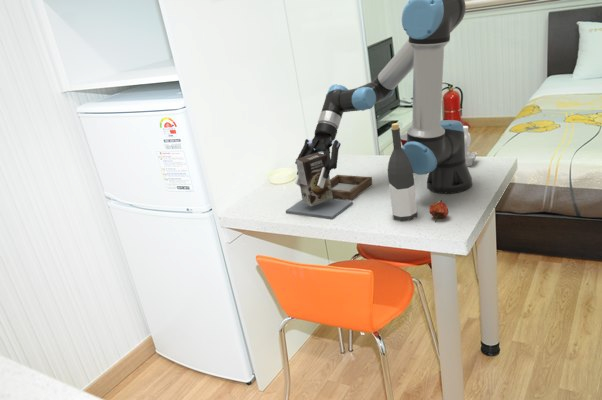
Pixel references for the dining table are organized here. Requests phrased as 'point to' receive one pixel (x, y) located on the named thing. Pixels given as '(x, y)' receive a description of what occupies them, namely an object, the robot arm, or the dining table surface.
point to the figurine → (468, 155)
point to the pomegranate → (438, 210)
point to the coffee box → (313, 179)
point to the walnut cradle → (358, 180)
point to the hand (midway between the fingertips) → (308, 185)
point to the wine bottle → (401, 181)
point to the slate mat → (320, 208)
